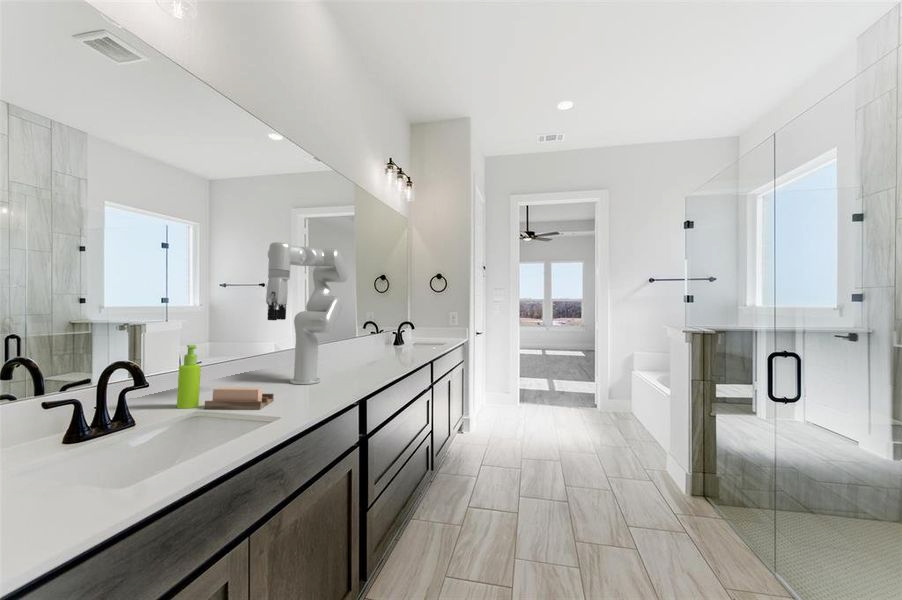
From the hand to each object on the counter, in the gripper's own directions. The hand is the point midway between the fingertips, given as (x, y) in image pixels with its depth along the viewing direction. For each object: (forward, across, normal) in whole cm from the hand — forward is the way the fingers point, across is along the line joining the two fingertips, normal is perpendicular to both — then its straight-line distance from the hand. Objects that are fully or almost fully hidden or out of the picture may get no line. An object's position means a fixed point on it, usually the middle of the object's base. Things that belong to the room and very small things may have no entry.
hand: (276, 319), depth 146 cm
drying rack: (+28, +16, -5) cm, 33 cm away
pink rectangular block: (+27, +19, -5) cm, 33 cm away
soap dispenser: (+28, +19, -20) cm, 40 cm away
